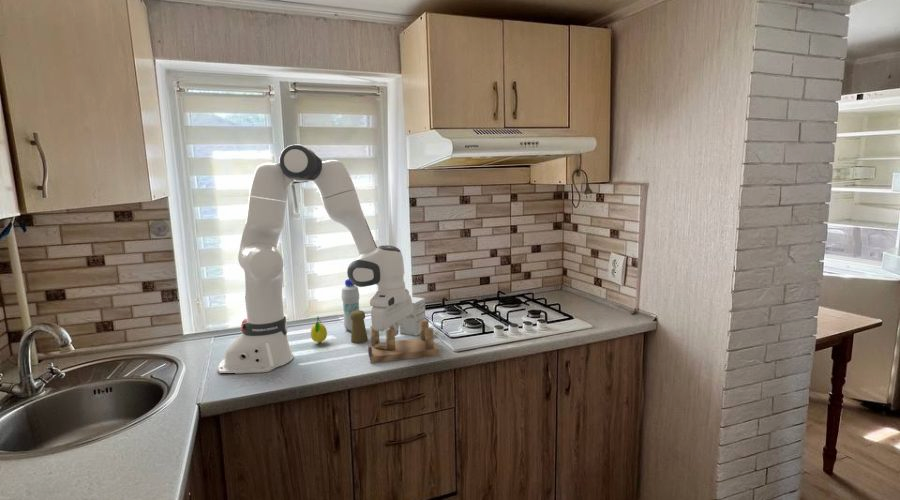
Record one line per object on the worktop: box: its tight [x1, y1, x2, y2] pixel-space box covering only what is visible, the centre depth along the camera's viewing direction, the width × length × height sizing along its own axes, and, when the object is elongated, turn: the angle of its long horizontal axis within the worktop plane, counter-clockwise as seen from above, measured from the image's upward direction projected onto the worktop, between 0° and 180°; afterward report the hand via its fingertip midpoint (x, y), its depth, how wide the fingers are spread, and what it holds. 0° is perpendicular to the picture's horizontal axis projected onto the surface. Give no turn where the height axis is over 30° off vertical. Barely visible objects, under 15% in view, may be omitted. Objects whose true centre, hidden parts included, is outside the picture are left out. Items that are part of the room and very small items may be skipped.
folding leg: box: [374, 328, 396, 350], centre depth 155 cm, size 8×3×6 cm, turn 71°
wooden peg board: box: [367, 319, 439, 364], centre depth 157 cm, size 22×12×8 cm, turn 103°
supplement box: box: [399, 296, 427, 337], centre depth 176 cm, size 7×7×13 cm
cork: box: [350, 309, 369, 345], centre depth 169 cm, size 6×6×11 cm
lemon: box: [310, 315, 328, 344], centre depth 168 cm, size 7×6×10 cm
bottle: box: [341, 278, 360, 333], centre depth 181 cm, size 7×7×20 cm
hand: (394, 335), depth 157 cm, fingers closed
